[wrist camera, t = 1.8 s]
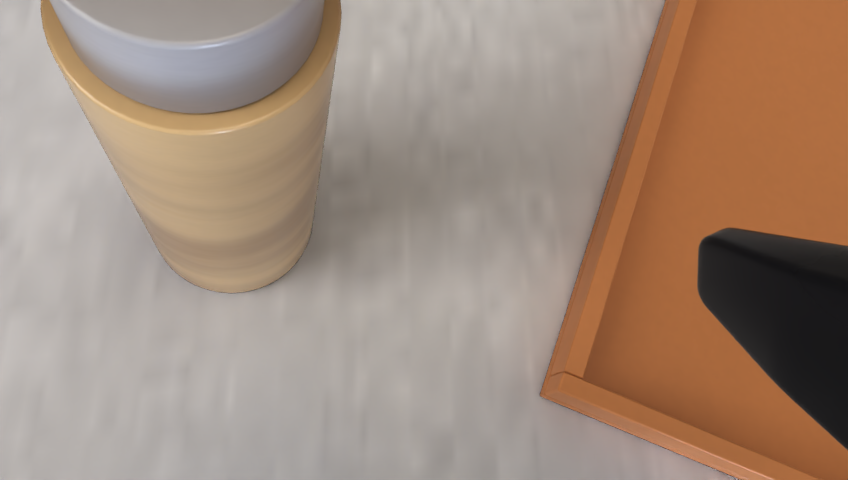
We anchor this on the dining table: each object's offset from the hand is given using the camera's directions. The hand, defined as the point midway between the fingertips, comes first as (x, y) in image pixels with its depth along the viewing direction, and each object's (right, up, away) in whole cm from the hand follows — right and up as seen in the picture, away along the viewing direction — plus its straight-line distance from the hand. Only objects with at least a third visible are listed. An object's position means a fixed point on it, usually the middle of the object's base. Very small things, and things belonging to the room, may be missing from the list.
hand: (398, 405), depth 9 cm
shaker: (-5, +3, +14) cm, 15 cm away
